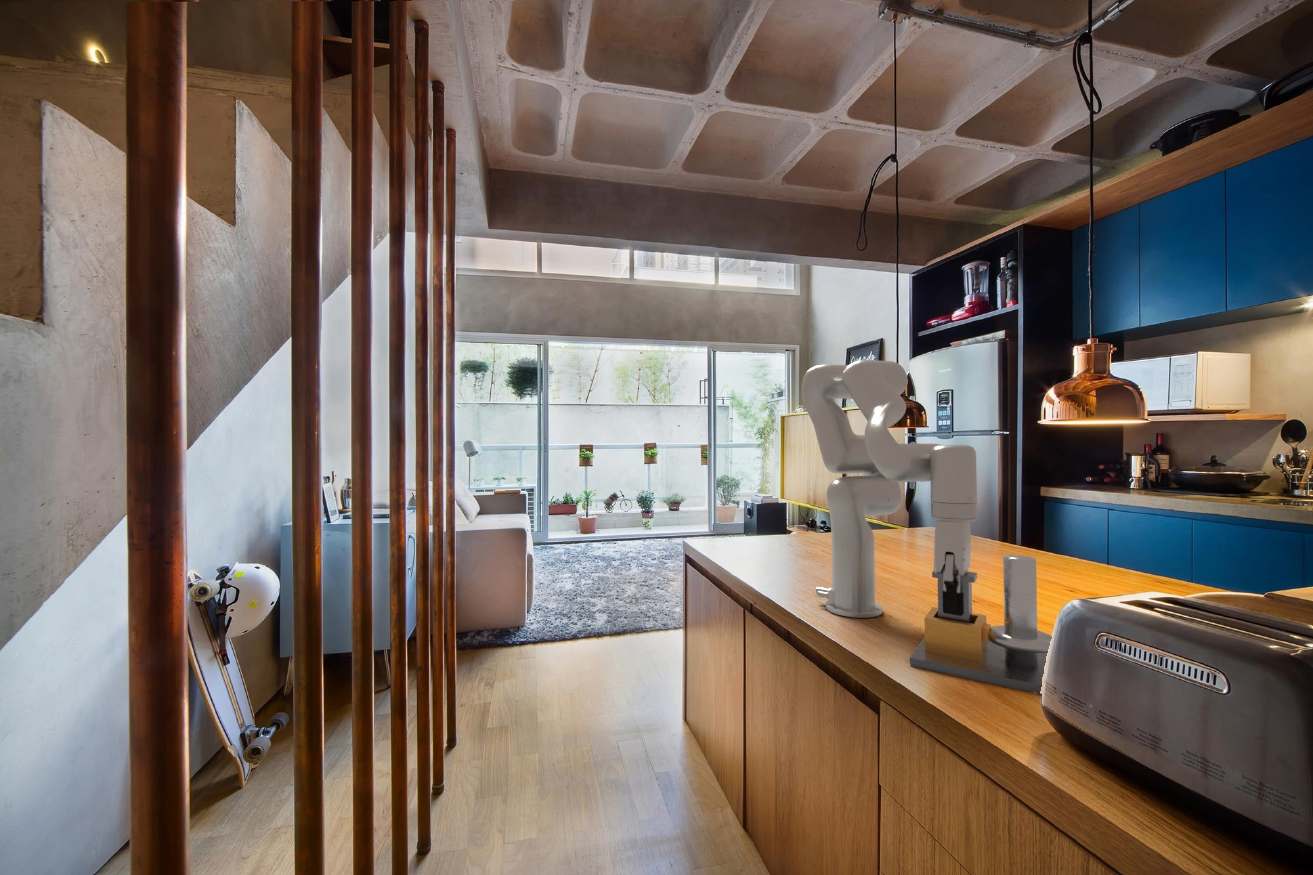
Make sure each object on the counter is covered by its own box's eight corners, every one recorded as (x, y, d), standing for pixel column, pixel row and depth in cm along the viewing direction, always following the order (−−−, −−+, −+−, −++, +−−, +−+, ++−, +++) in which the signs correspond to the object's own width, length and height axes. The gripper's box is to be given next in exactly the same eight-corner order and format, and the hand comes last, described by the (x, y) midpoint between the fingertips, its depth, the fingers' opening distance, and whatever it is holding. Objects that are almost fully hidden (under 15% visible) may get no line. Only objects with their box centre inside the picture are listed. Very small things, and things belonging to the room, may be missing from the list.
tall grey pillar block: (932, 627, 101) (932, 571, 101) (936, 621, 105) (936, 567, 105) (975, 634, 97) (974, 577, 97) (977, 628, 101) (977, 572, 101)
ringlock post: (910, 666, 97) (908, 556, 97) (929, 636, 112) (928, 540, 112) (1056, 697, 85) (1054, 571, 85) (1057, 660, 99) (1055, 552, 99)
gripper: (939, 505, 110) (940, 597, 110) (922, 515, 97) (923, 619, 96) (982, 508, 106) (983, 603, 105) (970, 518, 92) (972, 627, 92)
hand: (955, 609), depth 101 cm, fingers closed on tall grey pillar block, 4 cm apart
